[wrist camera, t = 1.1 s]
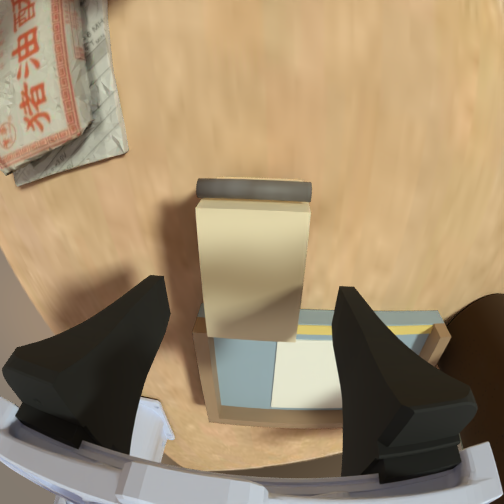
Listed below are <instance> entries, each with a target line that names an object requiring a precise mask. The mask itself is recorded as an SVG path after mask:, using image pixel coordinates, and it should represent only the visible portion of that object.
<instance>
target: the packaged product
mask: <svg viewBox="0 0 504 504" xmlns="http://www.w3.org/2000/svg"><path fill="white" fill-rule="evenodd" d="M128 150H129V146H128V141H127V136H126V130H125V124H124V119H123V114H122V110H121V105H120V100H119V95H118V90H117V85H116V80H115V75H114V70H113V62H112V53H111V44H110V34H109V26H108V1H107V0H0V169H1V171H2V172H3V173H4V174H5V175H6V176H7V175H9V174H11V173H13V174H14V179H15V183H16V185H17V186H21V185H24V184H27V183H30V182H33V181H36V180H38V179H41V178H44V177H47V176H49V175H53V174H56V173H60V172H63V171H67V170H70V169H73V168H77V167H80V166H83V165H87V164H90V163H93V162H97V161H100V160H104V159H107V158H110V157H113V156H116V155H120V154H124V153H126V152H127V151H128Z"/></svg>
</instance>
